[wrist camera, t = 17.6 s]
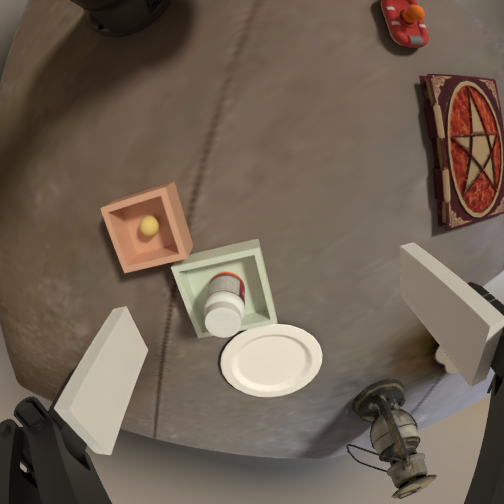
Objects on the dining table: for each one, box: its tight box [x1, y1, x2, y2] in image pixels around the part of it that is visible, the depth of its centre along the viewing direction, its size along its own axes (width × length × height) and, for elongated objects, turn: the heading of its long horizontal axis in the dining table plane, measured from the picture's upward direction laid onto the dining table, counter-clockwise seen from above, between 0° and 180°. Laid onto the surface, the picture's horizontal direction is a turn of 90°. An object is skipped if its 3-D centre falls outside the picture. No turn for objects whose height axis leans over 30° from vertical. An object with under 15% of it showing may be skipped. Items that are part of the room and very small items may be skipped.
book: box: [419, 74, 504, 231], centre depth 41 cm, size 28×21×5 cm
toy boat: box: [381, 0, 428, 48], centre depth 31 cm, size 8×12×8 cm, turn 14°
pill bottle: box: [204, 271, 245, 338], centre depth 46 cm, size 6×6×11 cm
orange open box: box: [101, 182, 194, 273], centre depth 45 cm, size 11×11×6 cm
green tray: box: [171, 239, 277, 338], centre depth 50 cm, size 14×14×4 cm
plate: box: [220, 323, 322, 397], centre depth 58 cm, size 21×21×2 cm
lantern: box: [346, 379, 436, 499], centre depth 52 cm, size 19×19×30 cm
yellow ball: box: [139, 216, 159, 236], centre depth 45 cm, size 3×3×3 cm
